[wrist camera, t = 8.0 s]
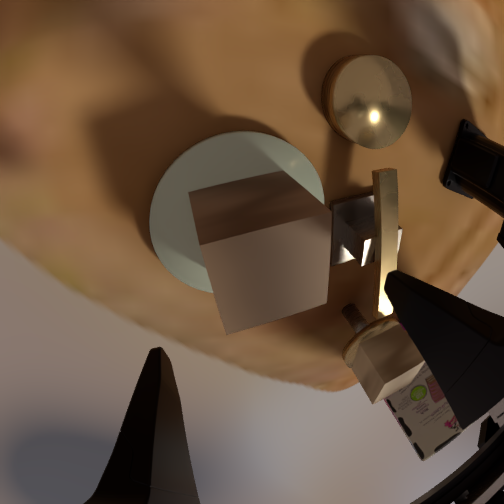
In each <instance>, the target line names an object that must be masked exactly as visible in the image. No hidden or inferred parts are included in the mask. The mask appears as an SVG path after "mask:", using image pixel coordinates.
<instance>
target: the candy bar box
mask: <svg viewBox="0 0 504 504" xmlns="http://www.w3.org/2000/svg"><path fill="white" fill-rule="evenodd" d="M399 324H400V325H401V326H402V328H403V329H404V331H405V332H406V333H407V331H406V330H405V328H404V327H403V325H402V323H401V322H400V321H399ZM407 334H408V333H407ZM408 336H409V334H408ZM409 337H410V336H409ZM411 340H412V339H411ZM384 401H385V402H386V403H387V405H388V407H389V408H390V410H391V412H392V414H393V415H394V417H395V418H396V420H397V422H398V423H399V425H400V427H401V428H402V430H403V432H404V433H405V435H406V437H407V438H408V440H409V441H410V443H411V445H412V446H413V448H414V450H415V451H416V453H417V455H418V456H419V458H420V459H421V460H422V461H425V460H427V459H428V458H430V457H431V456H432V455H433V454H435V453H437V452H438V451H439V450H440V449H442V448H443V447H445V446H446V445H447V444H449V443H450V442H451V441H453V440H454V439H455V438H456V437H457V436H459V435H460V434H461V433H462V432H463V431H465V430H466V429H467V428H468V427H469V426H470V425H469V426H468V427H467V428H465V429H464V430H462V428H461V427H460V425H459V423H458V421H457V419H456V417H455V415H454V413H453V411H452V409H451V407H450V405H449V403H448V401H447V400H446V398H445V396H444V394H443V392H442V390H441V388H440V387H439V385H438V383H437V381H436V379H435V378H434V376H433V374H432V372H431V371H430V369H429V367H428V366H427V364H426V362H424V364H423V366H422V367H421V369H420V370H419V372H418V373H417V375H416V376H415V377H414V379H413V380H412V382H411V383H410V384H408V385H407V386H405V387H403V388H402V389H400V390H398V391H397V392H395V393H393V394H391V395H390V396H388V397H386V398H384ZM473 423H474V422H473ZM473 423H472V424H473Z"/></svg>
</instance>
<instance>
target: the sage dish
mask: <svg viewBox="0 0 504 504" xmlns="http://www.w3.org/2000/svg"><path fill="white" fill-rule="evenodd" d="M283 170H284V171H285V172H286V173H287V174H289V175H290V176H291V177H292V178H293V179H295V180H296V181H297V182H298V183H299V184H301V185H302V186H303V187H304V188H305V189H306V190H308V191H309V192H310V193H311V194H312V195H313V196H315V197H316V198H317V199H318V200H319V201H320V202H322V203H323V204H324V194H323V188H322V184H321V181H320V178H319V176H318V174H317V172H316V170H315V168H314V167H313V165H312V164H311V162H310V161H309V160H308V159H307V158H306V157H305V155H304V154H303V153H301V152H300V151H299V150H298V149H297V148H295V147H294V146H292V145H290V144H289V143H287V142H285V141H284V140H282V139H280V138H277V137H275V136H272V135H269V134H265V133H261V132H255V131H232V132H226V133H221V134H218V135H215V136H212V137H209V138H206V139H204V140H202V141H200V142H198V143H196V144H194V145H193V146H191V147H190V148H189V149H187V150H186V151H184V152H183V153H182V154H181V155H180V156H179V157H177V158H176V159H175V160H174V161H173V162H172V164H171V165H170V166H169V167H168V168H167V170H166V171H165V173H164V174H163V176H162V177H161V179H160V181H159V183H158V185H157V187H156V190H155V192H154V195H153V199H152V202H151V209H150V218H149V225H150V235H151V240H152V244H153V247H154V249H155V252H156V254H157V256H158V257H159V259H160V261H161V262H162V264H163V265H164V266H165V268H166V269H167V270H168V271H169V272H170V273H171V274H172V275H173V276H175V277H176V278H177V279H179V280H180V281H181V282H183V283H185V284H187V285H189V286H191V287H193V288H196V289H198V290H202V291H206V292H210V293H213V290H212V287H211V283H210V280H209V277H208V273H207V270H206V266H205V263H204V259H203V256H202V252H201V249H200V245H199V241H198V236H197V232H196V227H195V222H194V218H193V213H192V208H191V204H190V199H189V194H188V192H191V191H194V190H198V189H202V188H206V187H210V186H214V185H218V184H223V183H227V182H231V181H235V180H240V179H244V178H249V177H253V176H258V175H263V174H268V173H273V172H278V171H283Z"/></svg>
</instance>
